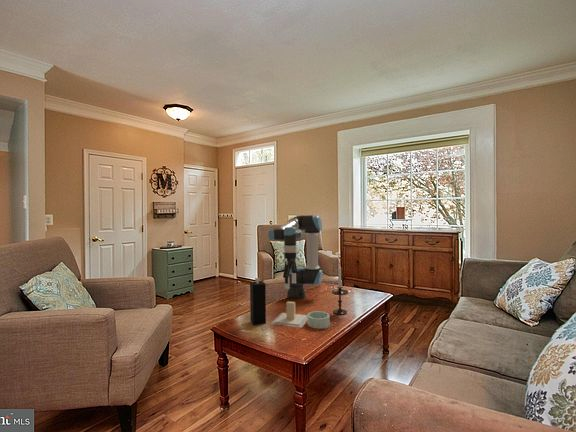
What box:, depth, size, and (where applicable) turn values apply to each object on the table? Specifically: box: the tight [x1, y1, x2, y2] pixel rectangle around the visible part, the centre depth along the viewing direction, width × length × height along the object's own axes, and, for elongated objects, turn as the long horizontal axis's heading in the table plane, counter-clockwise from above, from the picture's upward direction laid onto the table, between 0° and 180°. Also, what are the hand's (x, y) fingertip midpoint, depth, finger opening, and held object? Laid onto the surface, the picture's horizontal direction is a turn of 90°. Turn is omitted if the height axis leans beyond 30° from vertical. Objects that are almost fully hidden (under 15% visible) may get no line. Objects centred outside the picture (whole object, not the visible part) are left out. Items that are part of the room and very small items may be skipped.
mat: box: [269, 312, 307, 328], centre depth 185 cm, size 20×20×1 cm
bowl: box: [306, 310, 331, 330], centre depth 177 cm, size 13×13×6 cm
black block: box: [249, 277, 267, 326], centre depth 181 cm, size 8×8×28 cm
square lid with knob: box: [274, 301, 308, 326], centre depth 185 cm, size 16×16×11 cm
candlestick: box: [331, 261, 349, 316], centre depth 198 cm, size 11×11×35 cm
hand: (290, 285), depth 184 cm, fingers open, 13 cm apart
